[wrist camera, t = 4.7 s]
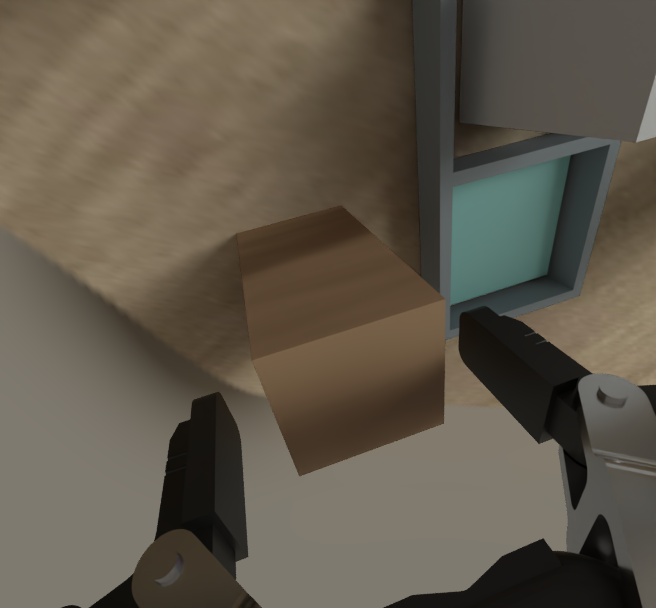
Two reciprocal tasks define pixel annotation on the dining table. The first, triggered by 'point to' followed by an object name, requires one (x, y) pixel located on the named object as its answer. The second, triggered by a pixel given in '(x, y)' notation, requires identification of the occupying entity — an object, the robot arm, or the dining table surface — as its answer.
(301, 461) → the walnut plug
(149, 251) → the dining table surface
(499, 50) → the divider rack
